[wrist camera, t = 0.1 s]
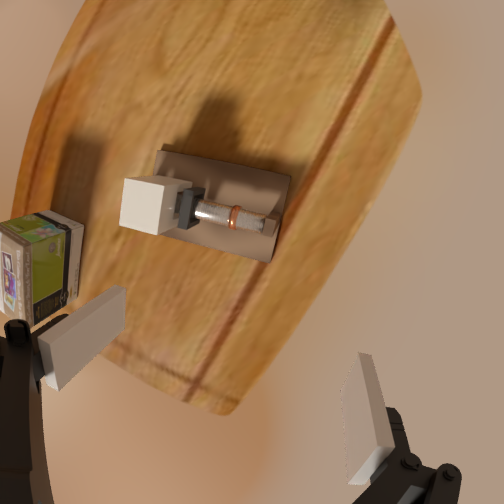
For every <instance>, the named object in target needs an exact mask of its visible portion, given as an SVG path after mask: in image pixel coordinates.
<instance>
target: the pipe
mask: <svg viewBox="0 0 504 504" xmlns="http://www.w3.org/2000/svg"><path fill="white" fill-rule="evenodd" d="M182 196H183V195H180V194H177V198H176V204H175V210H174V213H176V214H180V208H181V202H182ZM191 217H192V218H196V219H201V220H205V221H209V222H213V223H217V224H221V225H225V226H228V228H229V229H232V230H237V229H241V230H245V231H249V232H253V233H257V234H261V235H262V232H263V228H264V224H265V219H266V217H267V215H266V214H262V213H258V212H254V211H250V210H246V209H242V206H238V205H234V206H229V205H225V204H220V203H216V202H212V201H207V200H203V199H198V198H194V200H193V206H192V211H191Z"/></svg>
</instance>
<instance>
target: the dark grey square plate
mask: <svg viewBox="0 0 504 504" xmlns="http://www.w3.org/2000/svg"><path fill="white" fill-rule="evenodd" d="M205 190H206V188H201V187H192V188H187V189H184V191H183V196H182V202H181V208H180V214H179V220H178V226H177V228H180V229H184V230H188V229H190V228H192V227H193V226H195V225H197V224H199V223H200V219H196V218H192V217H191V211H192V206H193V200H194V198H198V199H203V200H204V196H205Z"/></svg>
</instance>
